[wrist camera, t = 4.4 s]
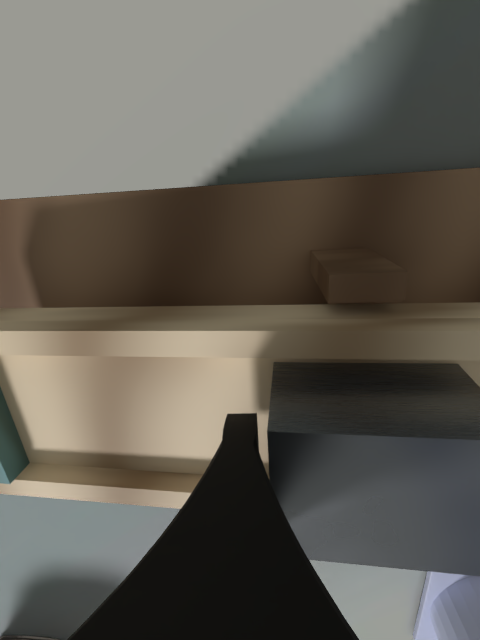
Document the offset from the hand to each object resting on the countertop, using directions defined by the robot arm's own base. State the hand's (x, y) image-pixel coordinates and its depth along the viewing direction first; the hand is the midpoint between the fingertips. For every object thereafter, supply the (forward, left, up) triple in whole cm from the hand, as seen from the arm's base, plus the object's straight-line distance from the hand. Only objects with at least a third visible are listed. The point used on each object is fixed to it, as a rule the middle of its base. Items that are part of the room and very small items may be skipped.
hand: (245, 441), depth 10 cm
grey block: (-3, 0, -1) cm, 4 cm away
